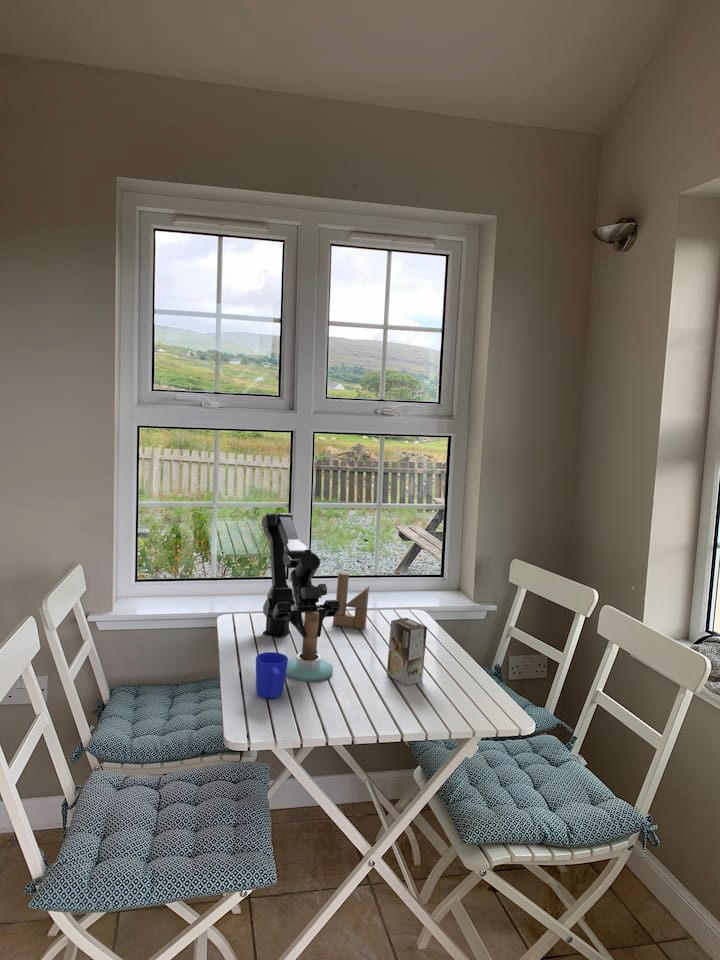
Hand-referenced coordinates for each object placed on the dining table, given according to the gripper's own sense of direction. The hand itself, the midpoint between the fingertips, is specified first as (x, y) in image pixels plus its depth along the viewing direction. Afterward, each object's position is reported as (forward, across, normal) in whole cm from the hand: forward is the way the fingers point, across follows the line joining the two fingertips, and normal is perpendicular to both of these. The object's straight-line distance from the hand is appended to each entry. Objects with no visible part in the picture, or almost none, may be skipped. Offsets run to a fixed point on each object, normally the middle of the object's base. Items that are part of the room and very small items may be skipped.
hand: (312, 637), depth 208 cm
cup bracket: (+7, 0, +8) cm, 11 cm away
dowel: (+4, 0, +6) cm, 7 cm away
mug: (+17, -15, -2) cm, 23 cm away
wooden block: (-18, +26, +33) cm, 46 cm away
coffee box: (+14, +26, +2) cm, 29 cm away
